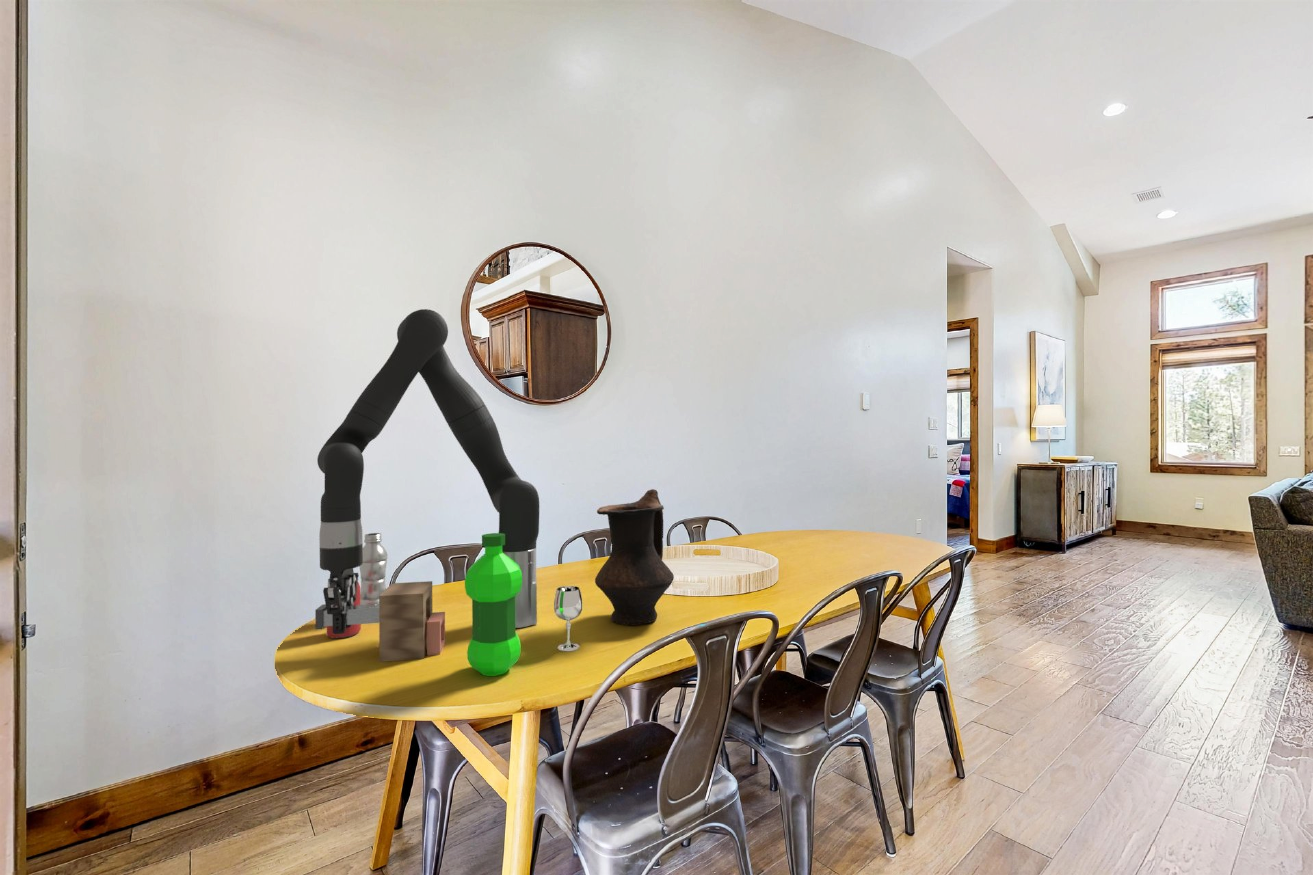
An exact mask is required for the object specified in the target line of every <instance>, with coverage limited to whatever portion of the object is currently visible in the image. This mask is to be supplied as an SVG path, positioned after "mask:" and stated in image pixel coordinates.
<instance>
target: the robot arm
mask: <svg viewBox="0 0 1313 875" xmlns="http://www.w3.org/2000/svg"><path fill="white" fill-rule="evenodd" d="M396 332H397V333H396V338H397V343H396V345H395V347H394V348H393V350H392V351H391V353H390V356H389V357H388V358H387V360H386V362H385V363H384V364H383V366H382V367H381V368H380V369H379V371H378V372H377V373H376V374H375V375H374V377H373V378H372V380H371V381H370V382H369V383H368V384H367V386H366V387H365V388H364V390H363V391H362V392H361V394H360V395H359V397H358V398H357V399H356V400H355V403H354V404H353V406H352V407H351V409H350V410H349V411H348V413H347V415H346V417H345V418H344V420H343V421H342V423H340V425H339V426H338V427H337V429H336V430H334V432H333V433H332V434H331V435H330V437H329V438H328V439H327V440H326V442H325V443H324V444H323V445H322V447H321V449H320V450H319V452H318V455H317V465H318V468H319V470H320V471H321V472H322V473H323V474H324V492H323V494H322V495H321V498H320V528H319V536H318V537H319V539H318V540H319V542H318V543H319V568H320V569H321V570H323V571H328V572H329V578H328V579H327V587H323V590H322V592H323V598H324V603H325V604H326V609H327V614H331V615H332V623H333V634H343V633H344V632H345V631H346V628H349V627H350V626H351V625H346V606H349V605H354V604H353V602H355V601H356V593H357V584H358V583H359V575H360V574H359V572H355V571H354V569H355V568H358V567H359V566H361V565H362V563H363V547H364V546H363V543H364V540H363V527H362V514H361V513H362V512H361V509H362V508H361V506H362V505H361V491H362V487H363V480H364V471H365V463H364V456H363V452H364V451H365V450H366V448H367V446H369V444H370V443H371V441H373V440H375V439H376V438H377V437H378V436H379V435H380V434H381V433H382V431H383V429H384V428H385V426H386V424H387V423H388V422H389V420H390V418H391V417H392V415H393V414H394V411H395V410H396V408H397V406H398V405H399V403H400V402H401V400H402V398H403V397H404V395H405V393H406V391H407V390H408V388H409V387H410V385H411V384H412V382H413V380H414V379H415V378H416V377H417V375H418V374H419V375H420V376H421V378H422V379H423V381H424V382H425V384H426V386H427V388H428V389H429V391H430V393H431V396H432V398H433V399H434V401H435V403H436V405H437V407H438V409H439V410H440V413H441V414H442V416H443V417H444V420H445V422H446V424H447V426H448V428H449V429H450V430H451V433H452V434H453V435H454V438H455V439H456V441H457V443H458V444H459V445H460V447H461V448H462V450H463V451H464V453H465V455H466V456H467V458H468V459H469V460H470V462H471V463H472V465H473V466H474V467H475V469H476V470H477V472H478V474H479V476H480V477H481V480H482V483H483V484H484V487H485V489H486V491H487V493H488V496H489V498H490V500H491V503H492V506H493V507H494V509H495V510H496V511H497V513H498V517H499V518H498V533H503V534H505V545H502V553H504V554H505V555H506V556H508V557H509V558H510V559H512V560H513V561H514V562H515V563H516V564H517V565H519V567H520V570H521V572H522V586H521V591H520V592H519V593H518V594H517V595H516V596H515V629H519V628H525V627H529V626H530V627H531V626H532V625H537V623H538V621H537V620H538V618H537V617H538V607H537V605H538V600H537V597H538V596H537V594H538V593H537V590H538V587H537V583H538V582H537V581H538V580H537V541H538V540H537V539H538V537H539V532H540V497H539V493H538V491H537V489H536V487H535V486H534V485H533V484H532V483H531V482H528V481H526V480H522V479H521V477H520V476H519V474H517V472H516V471H515V469H514V467H513V466H512V465H511V463H510V461H509V459H508V458H507V457H508V456H506V454H505V451H504V449H503V448H504V446H503V444H502V439H501V436H500V434H499V430H498V427H497V425H496V423H495V422H496V421H495V420H494V418H493V417H492V415H491V413H490V411H489V409H488V407H487V405H486V404H485V402H484V401H483V399H482V397H481V396H480V395H479V394H478V392H477V391H476V390H475V389H474V388H473V386H471V384H469V382H468V381H467V380H466V379H465V378H464V377H462V375H461V374H460V373H459V372H458V371H457V368H455V367H454V365H453V363H452V361H451V359H450V358H449V355H448V354H447V351H446V349H445V347H444V345H445V343H446V342H447V340H448V336H449V335H448V334H449V329H448V324H447V322H446V320H445V318H444V317H443V316H442V315H441V314H440V313H439V312H436V311H435V310H433V309H428V308H427V309H426V308H425V309H423V308H422V309H421V308H420V309H417V310H414V311H413V312H411V313H410V314H408V315H407V316H406V317H405V318H404V319H403V320H401V322H400V324H399V325H398V327H397V331H396ZM359 568H360V567H359ZM335 605H337V607H335Z"/></svg>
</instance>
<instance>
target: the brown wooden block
mask: <svg viewBox="0 0 1313 875" xmlns="http://www.w3.org/2000/svg"><path fill="white" fill-rule="evenodd" d="M432 613H433V581H432V580H430V581H429V580H428V581H411V582H396V583H395V582H393V583H390V584H389V585H388V587H387V588H386V590H385V591H384V592H383V593H382V594H381V595H380V596H379V623H378V625H379V630H378V632H379V635H378V636H379V637H378V638H379V646H378V647H379V648H378V649H379V663H382V662H383V663H384V662H397V661H409V660H410V661H411V660H422V659H425V657H426V655H427V621H428V620H429V618H430V617H431V615H432Z"/></svg>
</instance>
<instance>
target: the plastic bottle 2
mask: <svg viewBox="0 0 1313 875" xmlns="http://www.w3.org/2000/svg"><path fill="white" fill-rule="evenodd" d="M502 545H505V534H503V533H499V532H493V533H484V534H482V535H481V546H482V547H484V554H483V555H482V556H480V557H479V558H478V559H477V560H476V561H475V562H474V563H473V564H472V565H471V566H470V567H469V568H468V570H467V572H466V575H465V578H464V589H465V593H466V595H467V596H468V598H470V599H471V601H472V602H471V605H472V607H471V608H472V610H471V612H472V613H471V614H472V617H471V620H472V626H471V627H472V630H471V631H472V635H471V636H472V637H471V638H470V640H469V642H468V643H469V644H468V647H467V650H466V654H467V655H466V656H467V657H466V659H467V662H468V664H469V665H470V666H471V668H473V669H474V670H476V671H477V672H479V673H480V675H483V676H487V677H489V676H490V677H496V676H499V675H500V676H501V675H503V674H506V673H507V672H508V671H510V670H509V669H511V668H512V667H513V666H514V665H515V664H516V663H517V662H518V660H519V658H520V656H521V652H522V648H521V647H522V646H521V640H520V638H519V635H518V633H517V632H516V628H515V596H516V595H517V594H518V593H519V592H520V591H521V586H522V572H521V570H520V567H519V565H517V564H516V563H515V562H514V561H513V560H512V559H510V558H509V557H508V556H506V555H505V554H504V553H502Z"/></svg>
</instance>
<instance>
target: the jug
mask: <svg viewBox="0 0 1313 875" xmlns="http://www.w3.org/2000/svg"><path fill="white" fill-rule="evenodd" d="M663 510H665V507H664V505H662V504H661V501H660V499H659V492H658V491H657V489H654V488H653V489H648V490H647V491H646V492H645V493H644V495H642V497H641V498H639V500H638V501H634V502H628V503H622V504H610V505H605V506H601V507H599V508H598V509H597V510H596V513H597V514H598V515H603V516H604V515H606V516H607V521H608V526H609V532H610V543H611V551H610V554H609V557H608V559H607V560H606V561H605V562H604V564H603V565H602V567H601V568H600V570H599V571H598V573H597V575H596V576H595V578H594V582H595V586H596V587H597V588H598V589H600V590H601V592H602V593H603V594H604V595H605V596H606V597H607V599H608V600H609V602H610V604H611V605H612V606H613V611H612V613H611V615H610V619H611V622H612V623H615V624H619V625H631V626H634V625H643V624H647V623H652V622H655V621H657V618H658V613H657V611H656V605H657V603H658V601H659V600H660V599H661V598H662V596H663V595H664V593H665V592H666V590H669V588H670V586H671V585H672V583H673V581H674V579H675V576H674V574H673V572H672V571H671V569H670V568H669V567H668V566H667V564H666V563H665V562H664V561H663V556H664V540H663V539H664V511H663Z"/></svg>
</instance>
